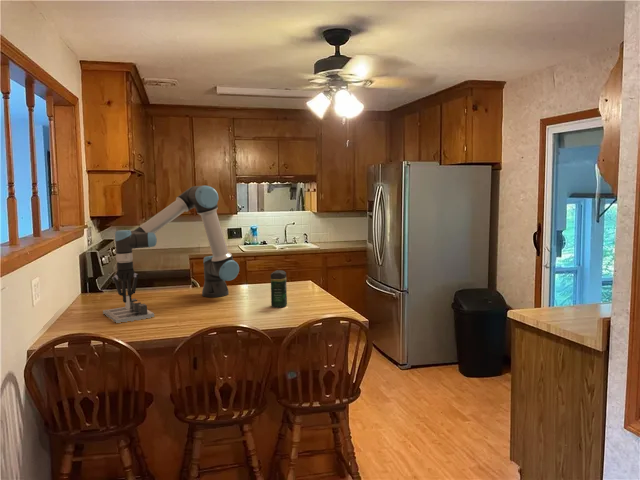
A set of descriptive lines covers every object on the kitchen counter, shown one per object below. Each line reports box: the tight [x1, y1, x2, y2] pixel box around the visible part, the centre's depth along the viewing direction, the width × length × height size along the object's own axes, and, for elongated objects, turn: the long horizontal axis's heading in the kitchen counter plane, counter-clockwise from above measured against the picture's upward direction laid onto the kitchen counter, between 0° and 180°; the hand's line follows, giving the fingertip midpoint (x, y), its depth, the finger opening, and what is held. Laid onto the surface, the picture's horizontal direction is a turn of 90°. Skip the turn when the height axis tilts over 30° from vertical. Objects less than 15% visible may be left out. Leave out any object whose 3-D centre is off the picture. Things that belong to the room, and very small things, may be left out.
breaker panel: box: [102, 298, 155, 324], centre depth 254 cm, size 24×18×6 cm
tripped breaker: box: [132, 300, 142, 311], centre depth 256 cm, size 4×3×4 cm
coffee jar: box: [270, 269, 288, 309], centre depth 266 cm, size 10×8×19 cm
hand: (127, 308), depth 254 cm, fingers closed
